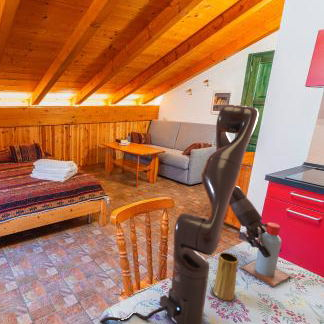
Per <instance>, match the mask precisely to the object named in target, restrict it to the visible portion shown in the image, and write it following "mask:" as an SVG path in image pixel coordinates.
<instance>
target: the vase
mask: <svg viewBox="0 0 324 324" xmlns="http://www.w3.org/2000/svg"><path fill="white" fill-rule="evenodd" d="M238 264H239V258H238V257H237V256H236V255H235V254H232V253H230V252H221V253H219V255H218V262H217V269H216V274H215V281H214V287H213V288H212V291H213V294H214V295H215V296H216V297H217V298H219V299H221V300H223V301H233V300H234V298H235V291H236V282H237V273H238Z"/></svg>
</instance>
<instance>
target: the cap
mask: <svg viewBox="0 0 324 324" xmlns="http://www.w3.org/2000/svg"><path fill="white" fill-rule="evenodd" d="M266 223H267V227H266V232H267V233H268V234H271V235H278V236H279V234H280V230H281V225H279V224H278V223H276V222H266Z"/></svg>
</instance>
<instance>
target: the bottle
mask: <svg viewBox="0 0 324 324" xmlns="http://www.w3.org/2000/svg"><path fill="white" fill-rule="evenodd" d="M262 241H263V244H264V246H265V247H266V248H267V250H268V251H269V253H270V254H271V256H270V257H267V258H265V257H264V256H263V255H262V253H261V252H260V250H259V249H258V248H257V254H256V259H255V261H256V264H255V270H256V271H257V272H258V273H260V274H262V275H264V276H269V277H271V276H274V274H275V270H276V269H277V266H278V265H277V264H278V259H279V255H280V252H279V251H280V249H281V245H282V238H281V237H280V236H279V234H278V235H271V234H268V233H267V232H265V233H263V234H262Z"/></svg>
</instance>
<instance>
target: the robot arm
mask: <svg viewBox="0 0 324 324" xmlns="http://www.w3.org/2000/svg"><path fill="white" fill-rule="evenodd" d="M258 119H259V110H258V108H256V107H253V106H247V105H238V104H224V105H223V106H222V107H221V108H220V110H219V111H218V114H217V118H216V123H215V124H216V125H215V145H216V146H215V151H214V152H212V153H211V154H210V155H209V156H208V158H207V159H206V162H205V164H204V166H203V170H202V172H201V182H202V185H203V188H204V191H205V194H206V195H207V198H208V202H209V206H210V216H209V218H206V217H201V216H199V215H195V214H191V213H188V212H183V213H181V214H180V215H178V217H176V218H177V219H176V221H175V224H174V228H173V229H174V230H173V251H172V253H173V255H172V259H173V265H172V276H171V288H169V289H168V295H166V294H163V295H162V296H160V297H159V306H160V307H159V308H157V309H154V310H153V311H151V312H149V313H148V314H147V315H143V314H141V313H139V312H137V311H135V312H136V313H133V314H132V315H131V316H130V317H129V318H127V319H124V320H121V319H122V318H123V317H116V316H106V317H104V318H102V319H101V320H100V321H99V323H100V324H104V323H105V322H108V321H115V322H127V321H129V320H130V319H131V318H132V317H134V316H137V317H138V318H140V319H143V320H149V319H151V318H152V317H153V316H154V315H156V314H158V313H161V312H164V311H165V312H166V316H167V317H168V318H169V319H170V320H171V321H172V322H173V323H174V324H203V323H204V313H205V312H204V311H205V305H206V297H207V288H208V281H209V275H210V274H209V273H210V264H209V261H208V260H207V258H206V257H205V256H212V255H213V254H215V252H216V250H217V249H218V246H219V243H220V240H221V238H222V237H221V236H222V232H223V229H224V224H225V220H226V215H227V211H228V207H229V208H230V210H231V212H232V213H233V215H234V216H235V218H236V219H237V221H238V222H239V224H240V226H241V227H243V228H244V227H245V229H246V230H244V231H242V233H241V234H242V235H243V237H244V238H245V240H246V241H247V242H248V243H249V245H250V246H251V247H252V248H257V250H258V249H259V250H260V252H261V253H262V255H263V256H264V257H265V258H267V257H270V256H271V254H270V253H269V251H268V250H267V248H266V247H265V246H264V244H263V241H262V234H263V233H265V232H266V227H267V223H268V222H266V223H263V222H262V220H263V217H262V216H261V214H260V213H259V211H258V210H257V209H256V207H255V205H254V204H253V202H251V200H250V199H249V198H248V197H247V195H246V194H245V193H244V191H243V190H242V188H241V187H240V186H238V185H236V184H237V181H238V178H239V176H240V172H241V169H242V166H243V161H244V158H245V155H246V151H247V148H248V146H249V142H250V140H251V138H252V135H253V133H254V131H255V128H256V125H257V122H258ZM228 133H229V134H234V135H236V136H235V137H234V138H233V139H232V140H231V139H230V137H229V135H228ZM281 252H282V249H281V248H280V251H279V253H281ZM202 254H203V255H205V256H203V255H202ZM131 313H132V312H130V313H129V314H128V315H127V316H126V317H128V316H129V315H130V314H131ZM118 320H120V321H118Z"/></svg>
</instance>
